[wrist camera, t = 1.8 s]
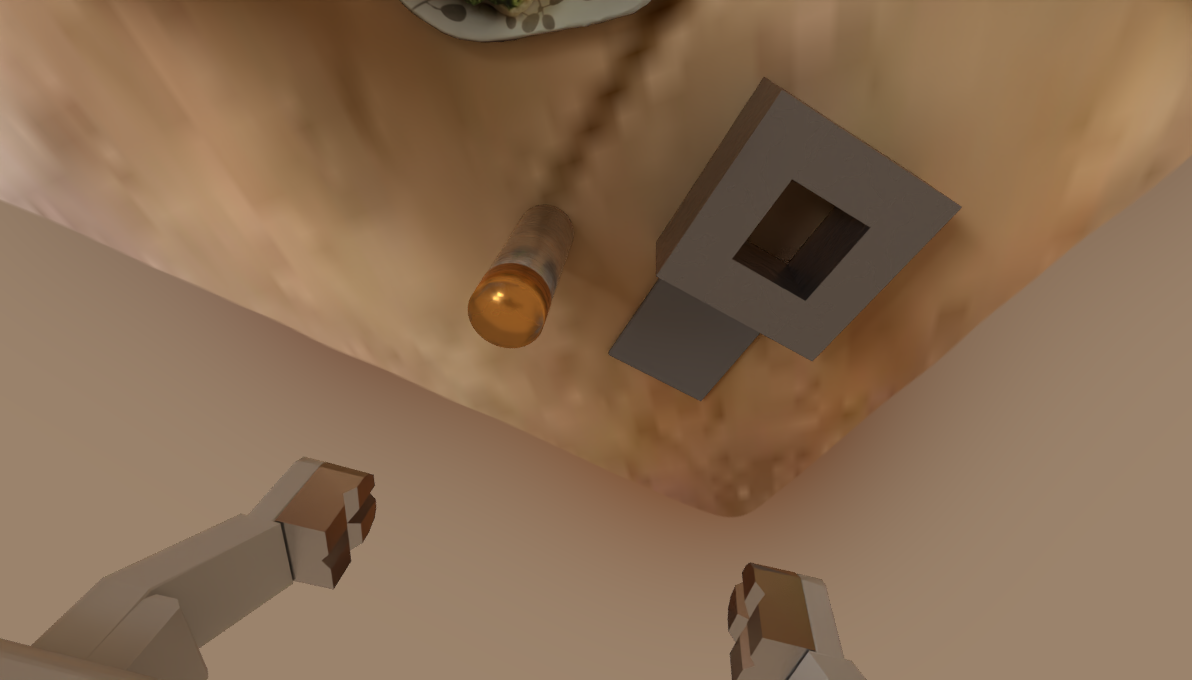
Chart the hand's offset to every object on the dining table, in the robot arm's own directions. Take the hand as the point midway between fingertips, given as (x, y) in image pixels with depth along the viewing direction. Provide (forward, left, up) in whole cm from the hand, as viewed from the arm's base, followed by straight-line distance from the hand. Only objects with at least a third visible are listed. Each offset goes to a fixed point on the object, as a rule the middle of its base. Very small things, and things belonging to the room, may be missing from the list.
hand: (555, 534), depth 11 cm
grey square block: (+9, +4, -25) cm, 27 cm away
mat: (+9, -7, -25) cm, 28 cm away
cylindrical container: (-3, -5, -25) cm, 26 cm away
